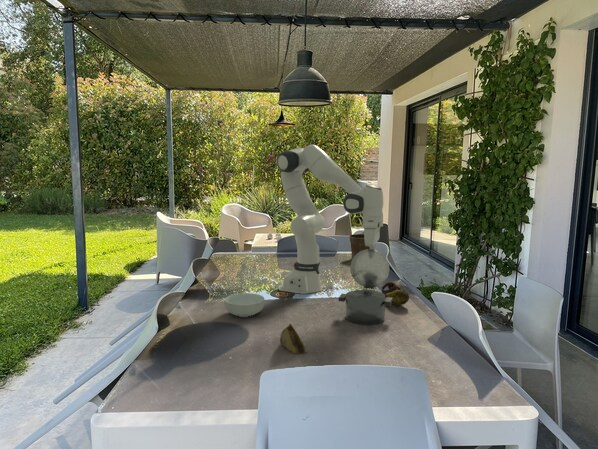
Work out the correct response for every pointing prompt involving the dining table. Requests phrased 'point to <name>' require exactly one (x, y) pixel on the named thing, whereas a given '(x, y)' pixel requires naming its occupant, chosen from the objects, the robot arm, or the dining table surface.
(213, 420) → the dining table surface
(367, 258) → the lid
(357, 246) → the plant pot
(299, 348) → the rock
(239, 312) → the cereal bowl
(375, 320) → the pot
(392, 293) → the potato
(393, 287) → the pottery mug
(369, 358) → the dining table surface
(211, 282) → the dining table surface
